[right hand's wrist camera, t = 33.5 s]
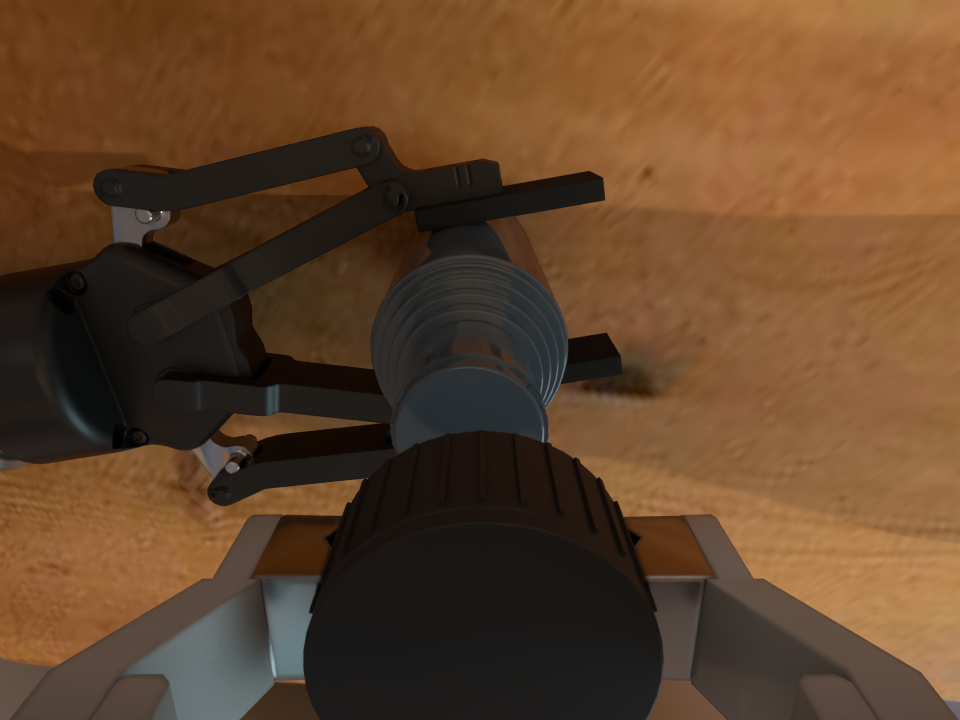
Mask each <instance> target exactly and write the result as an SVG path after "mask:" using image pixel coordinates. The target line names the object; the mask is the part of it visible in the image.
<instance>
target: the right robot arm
mask: <svg viewBox="0 0 960 720" xmlns="http://www.w3.org/2000/svg"><path fill="white" fill-rule="evenodd" d="M341 518H342V516H317V515H284V516H283V515H253V516H251V517H249V518H248V519H247V521H246V522H245V524H244V526H243V528H242V529H241V531H240V533H239V534H238V536H237V538H236V539H235V541H234V543H233V545H232V546H231V548H230V550H229V551H228V553H227V555H226V556H225V558H224V560H223V562H222V563H221V565H220V567H219V568H218V570H217V572H216V573H215V575H214V577H213V579H202V580H200V581H198V582H197V583H195V584H193V585H192V586H190V587H188V588H187V589H185V590H183V591H182V592H180V593H178V594H177V595H175V596H173V597H172V598H170V599H168V600H167V601H165V602H163V603H162V604H160V605H158V606H157V607H155V608H153V609H151V610H150V611H148V612H146V613H145V614H143V615H141V616H140V617H138V618H136V619H135V620H133V621H131V622H130V623H128V624H126V625H125V626H123V627H121V628H120V629H118V630H116V631H115V632H113V633H111V634H110V635H108V636H106V637H105V638H103V639H101V640H100V641H98V642H96V643H95V644H93V645H91V646H90V647H88V648H86V649H84V650H83V651H81V652H79V653H78V654H76V655H74V656H73V657H71V658H69V659H68V660H66V661H64V662H63V663H61V664H59V665H58V666H56V667H54V668H53V669H51V670H49V671H48V672H47V673H46V674H45V676H44V677H43V678H42V679H41V681H40V682H39V683H38V684H37V686H36V687H35V688H34V690H33V691H32V692H31V693H30V695H29V696H28V697H27V698H26V700H25V701H24V702H23V703H22V705H21V706H20V707H19V708H18V710H17V711H16V712H15V714H14V715H13V716H12V717H11V719H10V720H239V719H240V718H241V717H242V716H243V715H244V714H245V713H246V712H247V711H248V710H249V709H250V708H251V707H252V706H253V705H254V704H255V703H256V702H257V701H258V700H259V699H260V698H261V697H262V696H263V695H264V694H265V693H266V692H267V691H268V690H269V689H270V688H271V687H272V686H273V685H274V681H286V680H305V677H304V671H303V649H304V643H305V637H306V632H307V629H308V626H309V623H310V620H311V617H312V614H310V613H309V609H310V606H311V603H312V600H313V597H314V594H315V592H318V593H320V590H321V587H322V584H320V583H319V582H320V579H321V576H322V573H323V570H324V567H325V564H326V562H327V559H328V556H329V553H330V550H331V547H332V544H333V541H334V538H335V535H336V533H337V530H338V527H339V524H340V521H341ZM624 520H625V523H626V525H627V528H628V531H629V534H630V537H631V539H632V542H633V545H634V548H635V550H636V553H637V556H638V559H639V561H640V564H641V567H642V570H643V573H644V575H645V578H646V581H647V582H645V583H644V586H645V588H646V591H651V593H652V596H653V599H654V601H655V604H656V607H657V612H654V614H655V617H656V620H657V622H658V626H659V630H660V634H661V638H662V643H663V654H664V664H663V676H662V680H679V681H691V684H692V685H693V686H694V687H695V688H696V689H697V690H698V691H699V692H700V693H701V694H702V695H703V696H704V697H705V698H706V699H707V700H708V701H709V702H710V703H711V704H712V705H713V706H714V707H715V708H716V709H717V710H718V711H719V712H720V713H721V714H722V715H723V716H724V717H725V718H726V719H727V720H958V718H957V717H956V716H955V715H954V713H953V712H952V711H951V709H950V708H949V707H948V706H947V704H946V703H945V702H944V701H943V699H942V698H941V697H940V696H939V694H938V693H937V692H936V691H935V689H934V688H933V687H932V686H931V684H930V683H929V682H928V681H927V679H926V678H925V677H924V676H923V674H922V673H921V672H919V671H918V670H916V669H914V668H913V667H911V666H909V665H908V664H906V663H904V662H903V661H901V660H899V659H897V658H896V657H894V656H892V655H891V654H889V653H887V652H886V651H884V650H882V649H881V648H879V647H877V646H876V645H874V644H872V643H871V642H869V641H867V640H865V639H864V638H862V637H860V636H859V635H857V634H855V633H854V632H852V631H850V630H849V629H847V628H845V627H844V626H842V625H840V624H839V623H837V622H835V621H833V620H832V619H830V618H828V617H827V616H825V615H823V614H822V613H820V612H818V611H817V610H815V609H813V608H812V607H810V606H808V605H806V604H805V603H803V602H801V601H800V600H798V599H796V598H795V597H793V596H791V595H790V594H788V593H786V592H785V591H783V590H781V589H780V588H778V587H776V586H774V585H773V584H771V583H769V582H768V581H766V580H764V579H754V578H753V577H752V575H751V574H750V572H749V570H748V569H747V567H746V565H745V564H744V562H743V560H742V559H741V557H740V555H739V554H738V552H737V551H736V549H735V547H734V546H733V544H732V542H731V541H730V539H729V537H728V536H727V534H726V533H725V531H724V529H723V528H722V526H721V524H720V523H719V521H718V519H717V518H716V517H715V516H713V515H712V514H704V515H680V516H645V517H624Z"/></svg>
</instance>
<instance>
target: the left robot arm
mask: <svg viewBox="0 0 960 720" xmlns="http://www.w3.org/2000/svg"><path fill="white" fill-rule="evenodd" d="M356 167H357V169H358V171H359V172H360V174H361V175H362V177H363V179H364V180H365V182H366V184H367V185H368V188H366V189H364V190H362V191H360V192H358V193H357V194H355V195H353V196H351V197H349V198H347V199H345V200H343V201H342V202H340V203H338V204H336V205H334V206H332V207H330V208H328V209H327V210H325V211H323V212H321V213H319V214H317V215H315V216H313V217H312V218H310V219H308V220H306V221H304V222H302V223H300V224H298V225H297V226H295V227H293V228H291V229H289V230H287V231H285V232H283V233H282V234H280V235H278V236H276V237H274V238H272V239H270V240H268V241H267V242H265V243H263V244H261V245H259V246H257V247H255V248H253V249H251V250H249V251H247V252H245V253H243V254H241V255H240V256H238V257H236V258H234V259H232V260H230V261H228V262H226V263H225V264H223V265H221V266H219V267H217V268H212V267H210V266H208V265H206V264H203V263H201V262H199V261H197V260H194V259H192V258H190V257H188V256H186V255H183V254H181V253H179V252H177V251H174V250H172V249H170V248H168V247H165V246H163V245H161V244H159V243H157V242H154V241H153V235H154V233H155V231H156V230H157V229H161V228H164V227H167V226H169V225H172V224H174V223H175V222H176V221H177V220H178V219H179V217H180V213H181V209H187V208H191V207H195V206H199V205H204V204H208V203H212V202H216V201H220V200H224V199H228V198H233V197H237V196H241V195H245V194H249V193H253V192H257V191H261V190H266V189H270V188H274V187H278V186H282V185H286V184H290V183H294V182H299V181H303V180H307V179H311V178H315V177H319V176H323V175H327V174H332V173H336V172H340V171H344V170H348V169H352V168H356ZM93 187H94V191H95V194H96V195H97V197H98V198H99V199H100V200H101V201H102V202H104V203H105V204H107V205H111V214H112V227H113V240H114V243H113V244H111V245H108V246H107V247H105V248H104V249H102V250H101V251H100V252H99V253H98V254H97V255H96V256H95V257H94V258H92V259H90V260H84V261H79V262H73V263H67V264H62V265H56V266H50V267H45V268H39V269H33V270H28V271H22V272H16V273H11V274H5V275H0V471H7V470H15V469H19V468H22V467H26V466H29V465H32V464H46V463H53V462H59V461H66V460H72V459H78V458H84V457H91V456H97V455H103V454H110V453H116V452H121V451H125V450H130V449H134V448H137V447H141V446H145V445H163V446H167V447H171V448H174V449H178V450H192V451H193V453H194V454H195V455H196V457H197V458H198V459H199V461H200V462H201V463H202V465H203V466H204V467H205V469H206V470H207V471H208V473H209V474H210V475H211V477H212V478H213V481H212V482H211V484H210V485H209V487H208V489H207V491H208V496H209V498H210V500H211V501H212V502H214V503H215V504H217V505H220V506H228V505H231V504H233V503H236V502H238V501H240V500H242V499H244V498H246V497H249V496H251V495H253V494H255V493H257V492H259V491H262V490H264V489H268V488H277V487H287V486H296V485H306V484H315V483H325V482H334V481H344V480H353V479H363V478H370V477H371V476H372V475H373V474H374V473H375V472H376V471H377V470H378V469H379V468H380V467H381V466H382V465H384V462H385V460H386V459H388V458H389V459H392V458H393V457H395V456H396V455H397V453H396V451H395V448H394V446H393V444H392V437H391V429H390V421H391V415H392V409H393V408H392V407H391V405H390V404H389V402H388V401H387V399H386V398H385V396H384V394H383V392H382V390H381V388H380V386H379V384H378V381H377V378H376V375H375V372H374V370H373V369H365V368H356V367H347V366H338V365H329V364H320V363H311V362H302V361H296V360H294V359H293V358H292V357H290V356H288V355H281V354H273V353H266V351H265V348H264V344H263V342H262V340H261V339H260V337H259V336H258V334H257V332H256V331H255V329H254V328H253V325H252V306H251V302H250V299H249V296H248V293H250V292H251V291H253V290H255V289H257V288H259V287H261V286H263V285H265V284H266V283H268V282H270V281H272V280H274V279H276V278H278V277H280V276H282V275H284V274H286V273H288V272H289V271H291V270H293V269H295V268H297V267H299V266H301V265H303V264H305V263H307V262H309V261H311V260H312V259H314V258H316V257H318V256H320V255H322V254H324V253H326V252H328V251H330V250H332V249H334V248H335V247H337V246H339V245H341V244H343V243H345V242H347V241H349V240H351V239H353V238H355V237H357V236H358V235H360V234H362V233H364V232H366V231H368V230H370V229H372V228H374V227H376V226H378V225H380V224H381V223H383V222H385V221H387V220H389V219H391V218H393V217H395V216H397V215H398V217H399V216H400V215H401V214H402V213H404V212H405V211H411V210H415V211H414V212H415V216H416V221H417V226H418V231H419V233H420V232H426V231H432V230H438V229H443V228H449V227H454V226H460V225H466V224H472V223H478V222H483V221H489V220H495V219H501V218H506V217H512V216H518V215H524V214H529V213H535V212H541V211H546V210H552V209H558V208H564V207H569V206H575V205H581V204H587V203H592V202H598V201H604V200H605V192H604V182H603V178H602V177H600V176H598V175H596V174H594V173H592V172H590V171H586V172H581V173H575V174H569V175H564V176H558V177H553V178H547V179H541V180H536V181H530V182H524V183H519V184H513V185H507V186H502V180H501V173H500V167H499V163H498V162H496V161H491V160H487V159H479V160H473V161H468V162H462V163H457V164H451V165H445V166H439V167H434V168H428V169H423V170H412V169H409V168H407V167H405V166H404V165H403V164H401V163H400V161H399V160H398V159H397V157H396V155H395V154H394V152H393V150H392V148H391V147H390V145H389V143H388V140H387V138H386V135H385V133H384V132H383V131H381V130H380V129H379V128H377V127H374V126H367V127H360V128H355V129H351V130H346V131H342V132H338V133H334V134H330V135H326V136H322V137H318V138H314V139H310V140H306V141H302V142H298V143H294V144H290V145H286V146H282V147H278V148H273V149H269V150H265V151H261V152H257V153H253V154H249V155H245V156H241V157H237V158H233V159H229V160H225V161H221V162H217V163H213V164H209V165H205V166H200V167H196V168H192V169H188V170H183V169H176V168H168V167H160V166H152V165H134V166H127V167H121V168H115V169H109V170H103V171H101V172H100V173H98V174H97V175H96V177H95V178H94V183H93ZM620 374H622V365H621V356H620V354H619V352H618V351H617V349H616V348H615V346H614V344H613V343H612V341H611V339H610V338H609V336H608V334H607V333H602V334H596V335H590V336H584V337H577V338H571V339H568V358H567V363H566V368H565V372H564V375H563V378H562V380H561V383H560V384H564V383H570V382H577V381H583V380H589V379H595V378H601V377H608V376H614V375H620ZM278 412H285V413H294V414H303V415H313V416H322V417H331V418H340V419H350V420H359V421H368V422H377V423H380V424H371V425H362V426H353V427H343V428H334V429H325V430H315V431H306V432H297V433H288V434H281V435H275V436H272V437H268V438H265V439H263V440H260V441H258V442H257V438H256V437H255V436H254V435H251V434H248V435H246V436H238V437H230V436H227V435H225V434H223V433H222V432H221V431H220V430H219V429H220V427H221V426H222V425H223V424H224V423H225V422H226V421H227V420H228V419H229V418H230V417H231V416H232V415H233V414H234V413H237V414H247V415H256V416H268V415H272V414H274V413H278Z"/></svg>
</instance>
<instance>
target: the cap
mask: <svg viewBox="0 0 960 720" xmlns="http://www.w3.org/2000/svg"><path fill="white" fill-rule="evenodd" d="M645 582H647V581H646V578H645V575H644V573H643V570H642V567H641V564H640V561H639V559H638V556H637V553H636V550H635V548H634V545H633V542H632V539H631V537H630V534H629V531H628V528H627V525H626V523H625V520H624V517H623V514H622V512H621V509H620V506H619V504H618V502H617V501H615V502H613V500H612V498H611V497H610V495H609V494H608V492H607V491H606V489H605V487H604V484H603V481H602V479H601V478H600V477H599V478H596V477H595V476H594V475H593V474H592V473H591V472H590V471H589V470H588V469H586V468H585V467H584V466H583V465H582V464H581V463H580V460H579V459H578V458H576V457H575V458H572V457H571V456H569V455H567V454H566V453H564V452H563V451H561V450H559V449H557V448H554V447H552V445H551V444H550V443H548V442H546V443H544V442H541V441H538V440H535V439H532V438H529V437H526V436H521V435H519V434H518V433H514V434H511V433H505V432H494V431H485V430H479V431H470V432H461V433H455V434H451V433H448V434H445V435H444V436H441V437H437V438H434V439H430V440H427V441H425V442H422V443H420V444H418V443H415V444H413V447H410V448H409V449H407V450H405V451H403V452H402V453H400V454H398V455H396V456H395V457H393V458H392V459H389V458H388V459H386V460H385V462H384V465H382V466H381V467H380V468H379V469H378V470H377V471H376V472H375V473H374V474H373V475H372V476H371V477H370V478H369V479H368V480H367V479H366V478H365V479H364V480H363V481H362V483H361V486H360V490H359V491H358V492H357V494H356V495H355V497H354V499H353V501H352V503H349V502H347V504H346V506H345V509H344V512H343V515H342V518H341V521H340V524H339V527H338V530H337V533H336V535H335V538H334V541H333V544H332V547H331V550H330V553H329V556H328V559H327V562H326V564H325V567H324V570H323V573H322V576H321V579H320V582H319V583H320V584H322V587H321V590H320V593H318V592H315V594H314V597H313V600H312V603H311V606H310V609H309V613H310V614H312V617H311V620H310V623H309V626H308V629H307V632H306V637H305V643H304V649H303V671H304V677H305V683H306V689H307V691H308V694H309V697H310V700H311V703H312V706H313V708H314V710H315V712H316V713H317V715H318V717H319V719H320V720H646V719H647V718H648V716H649V715H650V713H651V710H652V708H653V706H654V704H655V701H656V699H657V697H658V693H659V689H660V685H661V681H662V676H663V664H664V654H663V643H662V638H661V634H660V630H659V626H658V622H657V620H656V617H655V614H654V612H657V607H656V604H655V601H654V599H653V596H652V593H651V591H646V588H645V586H644V583H645Z"/></svg>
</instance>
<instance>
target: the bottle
mask: <svg viewBox="0 0 960 720" xmlns="http://www.w3.org/2000/svg"><path fill="white" fill-rule="evenodd" d="M371 358H372V363H373V369H374V372H375V375H376V378H377V381H378V384H379V386H380V388H381V390H382V392H383V394H384V396H385V398H386V399H387V401H388V402H389V404H390V405H391V407H392V408H393V409H392V415H391V421H390V429H391V437H392V444H393V446H394V448H395V451H396V453H397V455H398V454H400V453H402V452H403V451H405V450H407V449H409V448H410V447H413V444H415V443H418V444H420V443H422V442H425V441H427V440H430V439H434V438H437V437H441V436H444V435H445V434H448V433H451V434H455V433H461V432H470V431H479V430H485V431H494V432H505V433H511V434H514V433H518V434H519V435H521V436H526V437H529V438H532V439H535V440H538V441H541V442H544V443H546V442H547V441H548V439H549V433H548V417H547V414H546V408H547V407H548V405H549V404H550V402H551V401H552V399H553V398H554V396H555V394H556V392H557V390H558V388H559V386H560V383H561V380H562V378H563V375H564V372H565V368H566V363H567V358H568V336H567V330H566V326H565V321H564V319H563V316H562V313H561V311H560V308H559V306H558V304H557V302H556V299H555V297H554V295H553V293H552V290H551V288H550V286H549V284H548V281H547V279H546V277H545V274H544V272H543V270H542V268H541V265H540V263H539V261H538V259H537V256H536V254H535V252H534V250H533V247H532V245H531V243H530V241H529V238H528V236H527V234H526V232H525V230H524V228H523V227H522V225H521V224H520V222H519V221H518V220H517V219H516V218H515V217H514V216H512V217H506V218H501V219H495V220H489V221H483V222H478V223H472V224H466V225H460V226H454V227H449V228H443V229H438V230H432V231H426V232H420V233H419V231H418V227H417V229H416V231H415V233H414V235H413V237H412V239H411V241H410V243H409V245H408V248H407V250H406V252H405V254H404V256H403V258H402V261H401V263H400V265H399V267H398V269H397V271H396V273H395V276H394V278H393V280H392V282H391V284H390V286H389V289H388V291H387V293H386V295H385V297H384V299H383V302H382V304H381V306H380V308H379V310H378V313H377V316H376V318H375V321H374V325H373V329H372V335H371Z"/></svg>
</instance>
